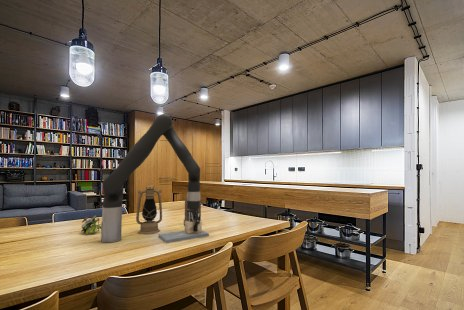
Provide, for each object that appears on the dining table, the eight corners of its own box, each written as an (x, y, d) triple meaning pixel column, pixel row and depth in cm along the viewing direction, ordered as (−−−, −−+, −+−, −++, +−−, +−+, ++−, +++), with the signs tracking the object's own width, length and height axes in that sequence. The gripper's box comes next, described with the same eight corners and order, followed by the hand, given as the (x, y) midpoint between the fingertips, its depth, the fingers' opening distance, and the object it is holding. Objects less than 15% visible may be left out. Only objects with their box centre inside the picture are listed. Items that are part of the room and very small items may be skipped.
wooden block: (200, 224, 163) (201, 197, 164) (185, 226, 158) (185, 198, 159) (198, 223, 166) (199, 196, 167) (183, 225, 161) (183, 197, 162)
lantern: (135, 235, 135) (136, 181, 137) (136, 230, 147) (137, 180, 148) (162, 233, 140) (163, 181, 142) (161, 228, 151) (162, 180, 153)
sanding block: (188, 234, 132) (188, 223, 132) (184, 232, 136) (184, 221, 136) (201, 232, 136) (201, 221, 137) (197, 230, 141) (197, 219, 141)
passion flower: (84, 242, 141) (85, 222, 148) (105, 237, 144) (104, 218, 151) (77, 235, 132) (78, 215, 139) (99, 230, 135) (99, 210, 142)
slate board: (166, 243, 121) (166, 240, 121) (158, 237, 132) (158, 234, 132) (208, 235, 134) (208, 233, 135) (198, 231, 145) (198, 228, 145)
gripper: (182, 198, 141) (182, 228, 140) (193, 201, 129) (192, 233, 128) (194, 198, 146) (194, 226, 144) (205, 200, 134) (205, 232, 133)
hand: (193, 230), depth 136 cm, fingers closed on sanding block, 5 cm apart
